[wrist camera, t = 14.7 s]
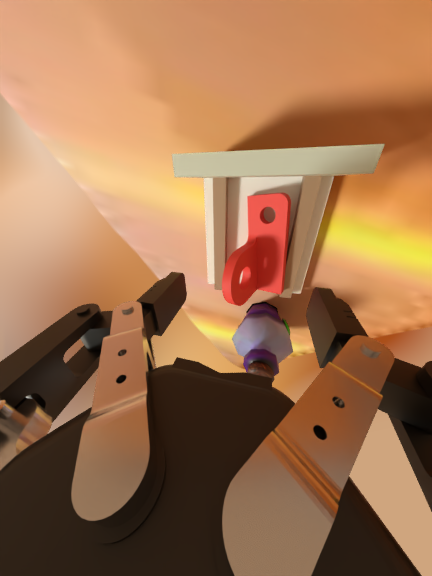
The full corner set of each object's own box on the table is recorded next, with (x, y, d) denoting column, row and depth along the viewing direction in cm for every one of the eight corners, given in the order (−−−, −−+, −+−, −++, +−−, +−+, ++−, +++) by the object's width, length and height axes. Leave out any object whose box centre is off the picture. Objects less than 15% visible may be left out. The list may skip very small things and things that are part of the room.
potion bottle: (299, 321, 30) (315, 391, 20) (256, 338, 34) (252, 403, 24) (269, 285, 28) (270, 343, 18) (228, 308, 32) (211, 366, 22)
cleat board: (334, 159, 18) (384, 143, 11) (298, 288, 27) (312, 333, 19) (206, 163, 21) (172, 154, 14) (210, 279, 30) (190, 314, 22)
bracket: (283, 290, 24) (260, 325, 19) (253, 284, 27) (225, 313, 21) (292, 191, 18) (261, 201, 13) (251, 195, 21) (212, 205, 15)
